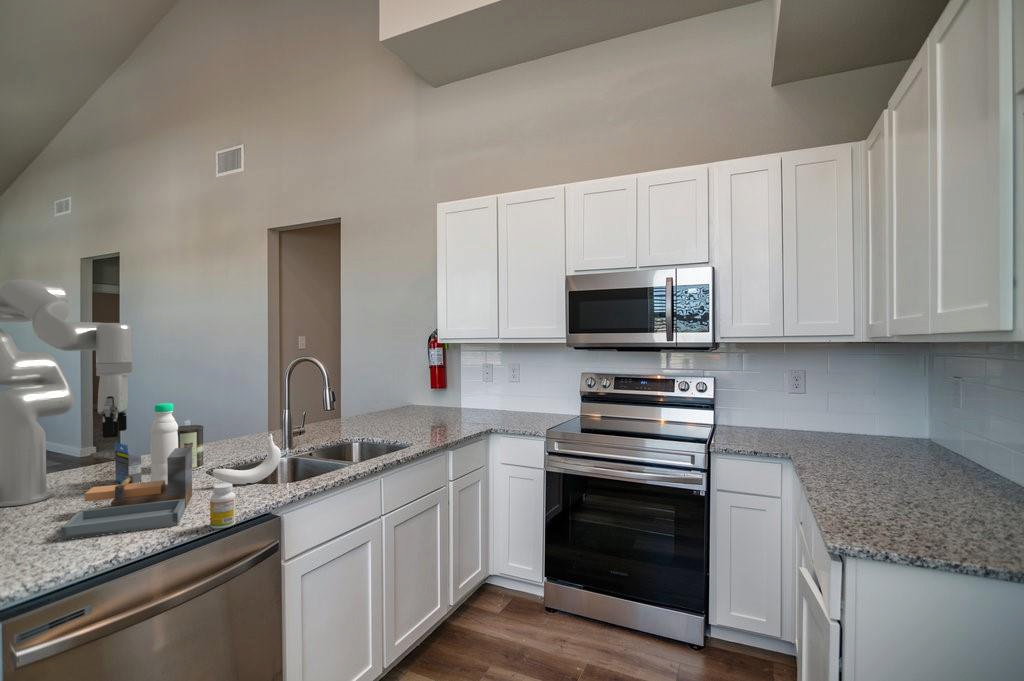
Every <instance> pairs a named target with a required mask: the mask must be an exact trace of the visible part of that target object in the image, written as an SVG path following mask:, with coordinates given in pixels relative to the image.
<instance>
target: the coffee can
mask: <svg viewBox="0 0 1024 681" xmlns="http://www.w3.org/2000/svg"><path fill="white" fill-rule="evenodd" d="M204 429H205V428H204V425H201V424H200V425H199V424H192V425H190V424H188V425H178V430H177V433H178V448H185V447H192V470H194V471H197V470H196V469H198V470H200V469H199V468H201V469H203V468H204V466H205V465H204ZM202 467H203V468H202Z"/></svg>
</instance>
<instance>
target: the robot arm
mask: <svg viewBox="0 0 1024 681" xmlns="http://www.w3.org/2000/svg"><path fill="white" fill-rule="evenodd" d="M68 300H69V295H68V292H67V290H66V289H65V288H64V287H63V286H62V285H61V284H58V283H57V282H54V281H46V280H37V279H35V280H34V279H28V278H27V279H26V278H25V279H24V278H18V279H17V278H16V279H12V280H8V281H6V282H4V283H3V284H1V286H0V322H1V323H29V322H31V323H32V325H31V326H32V330H33V332H34V334H35V336H36V337H37V338H38V339H40V341H42V342H44V343H46V344H47V345H49V346H50V347H52V348H54V349H57V350H59V351H64V352H65V351H66V352H73V351H74V352H76V351H79V352H80V351H95V361H96V364H95V369H96V371H95V372H96V373H95V376H97V377H99V382H98V391H97V392H98V394H97V396H98V397H97V413H98V414H99V415H102V438H104V439H107V438H108V439H109V438H118V437H119V436H120V435H119V433H120V432H123V431H126V430H127V429H128V427H127V425H128V424H127V421H128V420H127V410H126V409H128V405H129V385H128V381H129V380H128V376H130V375H133V348H132V347H133V345H132V342H133V340H132V336H133V334H132V327H131V325H130V324H128V323H125V322H123V323H122V322H121V323H120V322H92V321H91V322H90V321H66V319H67V318H68V316H69V314H70V306H69V304H68ZM0 387H1V388H2V387H6V388H5V389H2V390H1V391H0V507H3V508H4V507H14V506H15V507H16V506H23V505H27V504H34V503H38V502H41V501H44V500H47V499H49V498H52V497H53V496H54V494H55V492H54V489H50V488H47V440H46V438H47V437H46V432H45V429H44V428H43V427H42V426H41V425H40V423H39V422H38V421H37V420H38V419H41V418H48V417H50V418H51V417H55V416H61V415H64V414H66V413H68V412H69V411H71V410H72V408H73V407H74V405H75V396H74V392H73V390H72V388H71V386H70V383H69V382H68V380H67V378H66V376H65V374H64V372H63V370H62V368H61V366H60V364H59V362H58V361H57V359H56V358H54V357H53V356H52V355H50V354H48V353H47V352H43V351H42V352H41V351H21V350H19V348H18V346H17V345H16V343H15V342H14V340H13V338H12V336H11V335H10V334H9V333H7V331H5V330H4V329H2V328H1V327H0ZM7 387H8V388H7Z"/></svg>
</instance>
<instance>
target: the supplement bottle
mask: <svg viewBox="0 0 1024 681" xmlns="http://www.w3.org/2000/svg"><path fill="white" fill-rule="evenodd" d="M213 493H214V494H212V495H211V496H210V499H209V501H210V502H209V504H210V505H209V508H210V509H209V512H210V513H209V514H210V516H209V517H210V522H209V524H210V527H211V528H212V529H225V528H229V527H232V526H234V525H235V524H236V521H237V512H236V511H237V510H236V509H237V508H236V507H237V506H236V505H237V503H236V501H237V500H236V493H235V492H234V491H233V483H229V482H222V483H217V484H214V485H213Z"/></svg>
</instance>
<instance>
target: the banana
mask: <svg viewBox="0 0 1024 681" xmlns="http://www.w3.org/2000/svg"><path fill="white" fill-rule="evenodd" d="M265 441H266V442H267V444H268V446H269V447H268V452H267V453H266V454H267V455H266V456H265V459H264V460H263V461H262V462H261V463H259V464H258V465H257V466H255V467H253V468H250V469H244V470H241V469H240V470H237V469H232V468H215V469H213V471H212V476H213V477H215V478H216V479H218V480H220V481H223V482H224V483H231V484H232V485H247V484H246V483H251V484H255V483H258V482H260V481H263V480H264V479H266V478H268V477H269V476H270V475H271V474H272V473H273V472H274V471H275V470H276V469H277V468H278V466H279V464H280V461H281V456H282V450H280V448H279V447H278V446H277V445H276V444H275V443H274V441H273V435H272V433H271V432H270V433H269V434H268V437H267V438H266V439H265Z"/></svg>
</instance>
